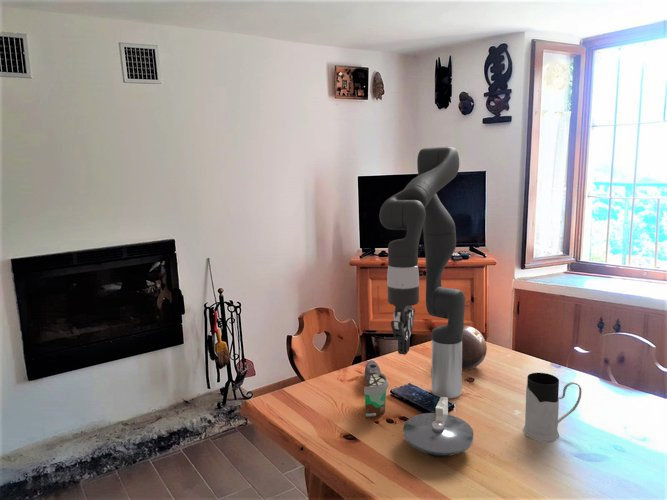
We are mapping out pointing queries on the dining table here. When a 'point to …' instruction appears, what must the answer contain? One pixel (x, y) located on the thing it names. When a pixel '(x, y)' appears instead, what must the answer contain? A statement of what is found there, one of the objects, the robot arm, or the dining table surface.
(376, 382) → the food container
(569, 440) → the dining table surface
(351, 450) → the dining table surface
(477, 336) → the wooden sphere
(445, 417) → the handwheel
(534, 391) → the glass holder
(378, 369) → the perforated stone tool
